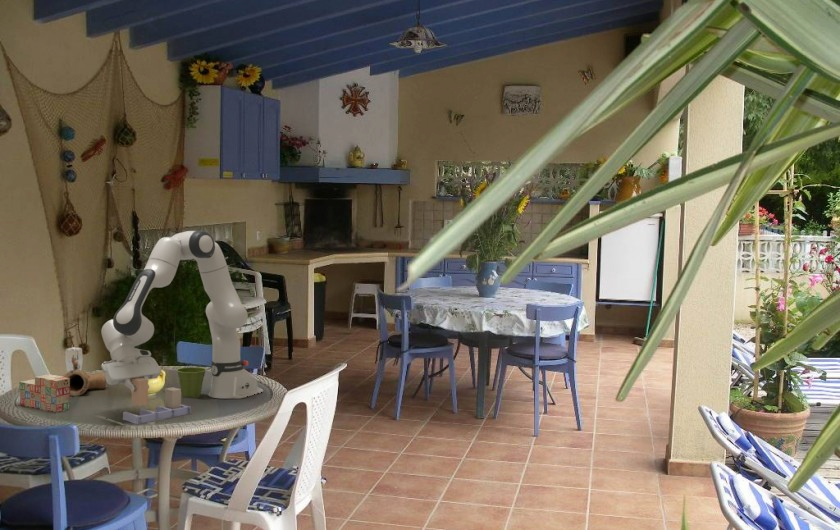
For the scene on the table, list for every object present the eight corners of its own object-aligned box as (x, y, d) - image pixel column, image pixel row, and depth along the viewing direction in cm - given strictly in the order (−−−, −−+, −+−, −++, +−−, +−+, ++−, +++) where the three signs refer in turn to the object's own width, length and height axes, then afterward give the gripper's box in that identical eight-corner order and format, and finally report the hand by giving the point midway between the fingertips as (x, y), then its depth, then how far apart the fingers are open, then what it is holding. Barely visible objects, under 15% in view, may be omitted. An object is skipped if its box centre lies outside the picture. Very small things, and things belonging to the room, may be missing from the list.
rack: (175, 411, 337) (175, 402, 336) (190, 415, 330) (190, 406, 330) (122, 421, 320) (122, 412, 320) (137, 426, 314) (137, 417, 313)
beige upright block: (173, 411, 333) (173, 387, 332) (181, 413, 330) (180, 389, 329) (165, 412, 330) (164, 388, 330) (172, 415, 327) (172, 390, 326)
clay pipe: (58, 401, 367) (64, 396, 354) (56, 375, 369) (61, 370, 356) (106, 395, 376) (113, 390, 364) (103, 370, 378) (110, 364, 366)
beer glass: (69, 381, 387) (69, 347, 386) (85, 381, 387) (85, 347, 385) (62, 385, 380) (62, 350, 379) (79, 385, 380) (78, 350, 378)
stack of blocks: (19, 405, 343) (18, 373, 342) (33, 402, 348) (33, 371, 347) (56, 413, 332) (55, 380, 331) (70, 409, 338) (70, 377, 337)
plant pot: (196, 401, 353) (195, 373, 352) (170, 399, 357) (170, 371, 356) (212, 395, 364) (212, 368, 363) (187, 393, 368) (187, 366, 367)
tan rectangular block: (140, 402, 322) (140, 377, 322) (148, 404, 319) (148, 379, 319) (131, 403, 320) (131, 378, 319) (139, 406, 317) (139, 380, 316)
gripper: (102, 357, 315) (117, 388, 309) (153, 350, 330) (168, 380, 325) (96, 367, 318) (110, 399, 313) (147, 360, 334) (162, 390, 328)
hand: (140, 389), depth 319 cm, fingers closed on tan rectangular block, 3 cm apart
